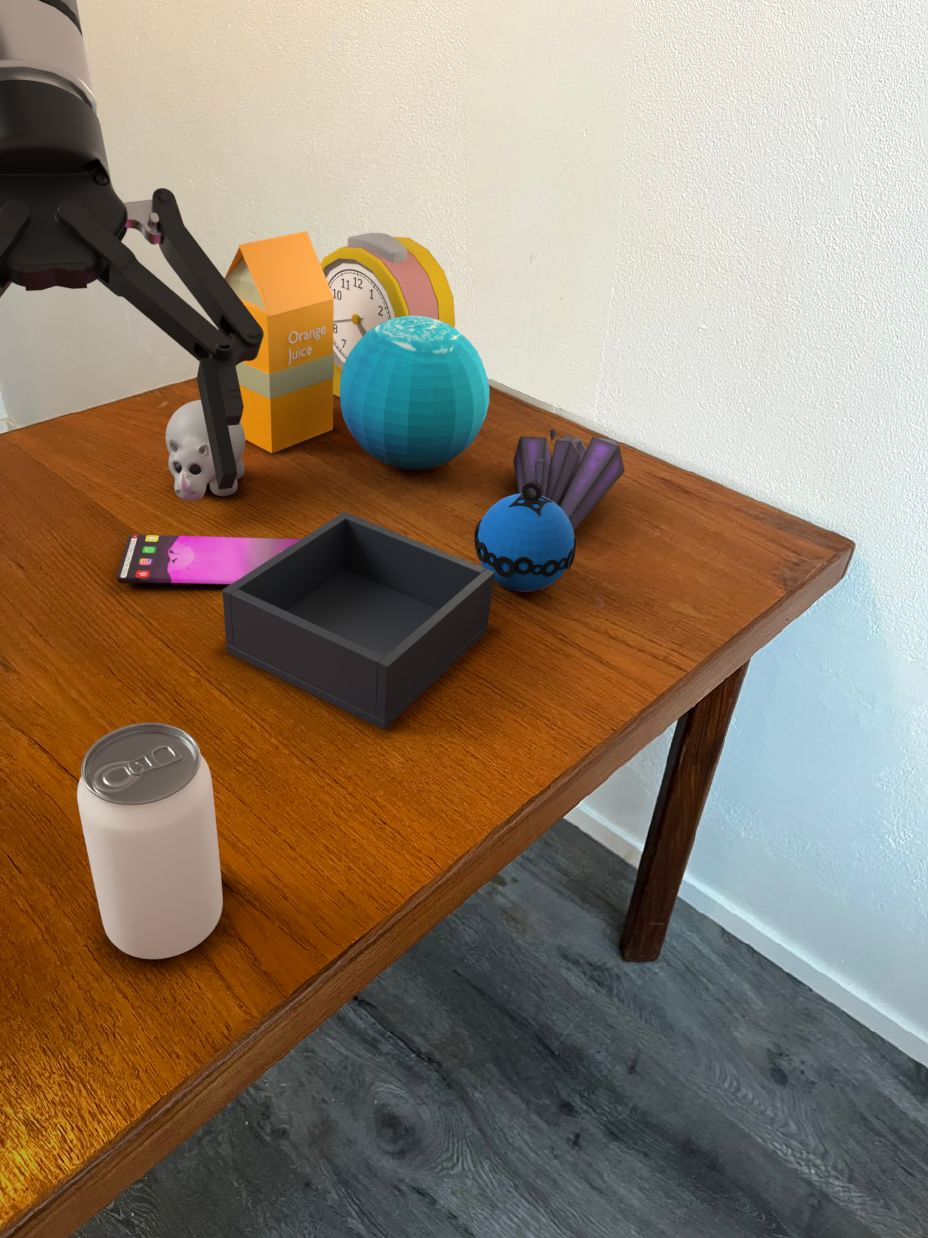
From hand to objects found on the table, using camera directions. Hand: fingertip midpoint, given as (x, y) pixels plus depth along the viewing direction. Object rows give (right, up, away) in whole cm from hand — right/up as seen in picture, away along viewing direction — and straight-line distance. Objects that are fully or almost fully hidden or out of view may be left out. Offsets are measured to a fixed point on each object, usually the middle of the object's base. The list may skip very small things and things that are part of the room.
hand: (95, 498), depth 50 cm
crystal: (+29, +6, +48) cm, 56 cm away
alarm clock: (+9, +20, +64) cm, 67 cm away
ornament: (+24, -3, +35) cm, 42 cm away
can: (+2, -23, +5) cm, 24 cm away
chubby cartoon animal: (-6, +5, +42) cm, 43 cm away
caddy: (+11, -8, +26) cm, 29 cm away
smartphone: (-2, -2, +33) cm, 33 cm away
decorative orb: (+13, +10, +51) cm, 54 cm away
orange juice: (-1, +14, +55) cm, 57 cm away
